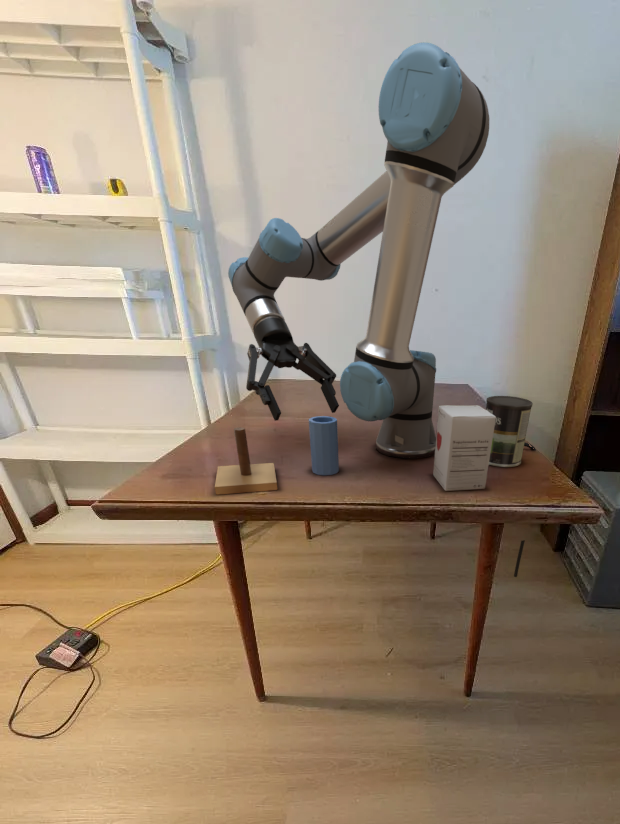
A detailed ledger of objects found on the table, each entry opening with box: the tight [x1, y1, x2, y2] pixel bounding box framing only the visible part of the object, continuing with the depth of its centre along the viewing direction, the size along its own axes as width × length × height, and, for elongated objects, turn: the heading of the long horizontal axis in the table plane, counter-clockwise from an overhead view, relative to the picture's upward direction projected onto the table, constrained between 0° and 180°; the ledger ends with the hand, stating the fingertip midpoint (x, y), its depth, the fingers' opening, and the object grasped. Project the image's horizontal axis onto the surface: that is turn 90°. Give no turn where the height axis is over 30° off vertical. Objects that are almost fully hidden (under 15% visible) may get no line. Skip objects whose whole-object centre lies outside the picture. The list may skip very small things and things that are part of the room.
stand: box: [214, 426, 278, 496], centre depth 82 cm, size 11×11×11 cm
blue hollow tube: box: [308, 415, 340, 476], centre depth 89 cm, size 6×6×11 cm
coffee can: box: [485, 395, 534, 468], centre depth 100 cm, size 10×10×14 cm
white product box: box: [432, 404, 496, 492], centre depth 86 cm, size 9×9×15 cm
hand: (308, 413), depth 91 cm, fingers open, 13 cm apart
